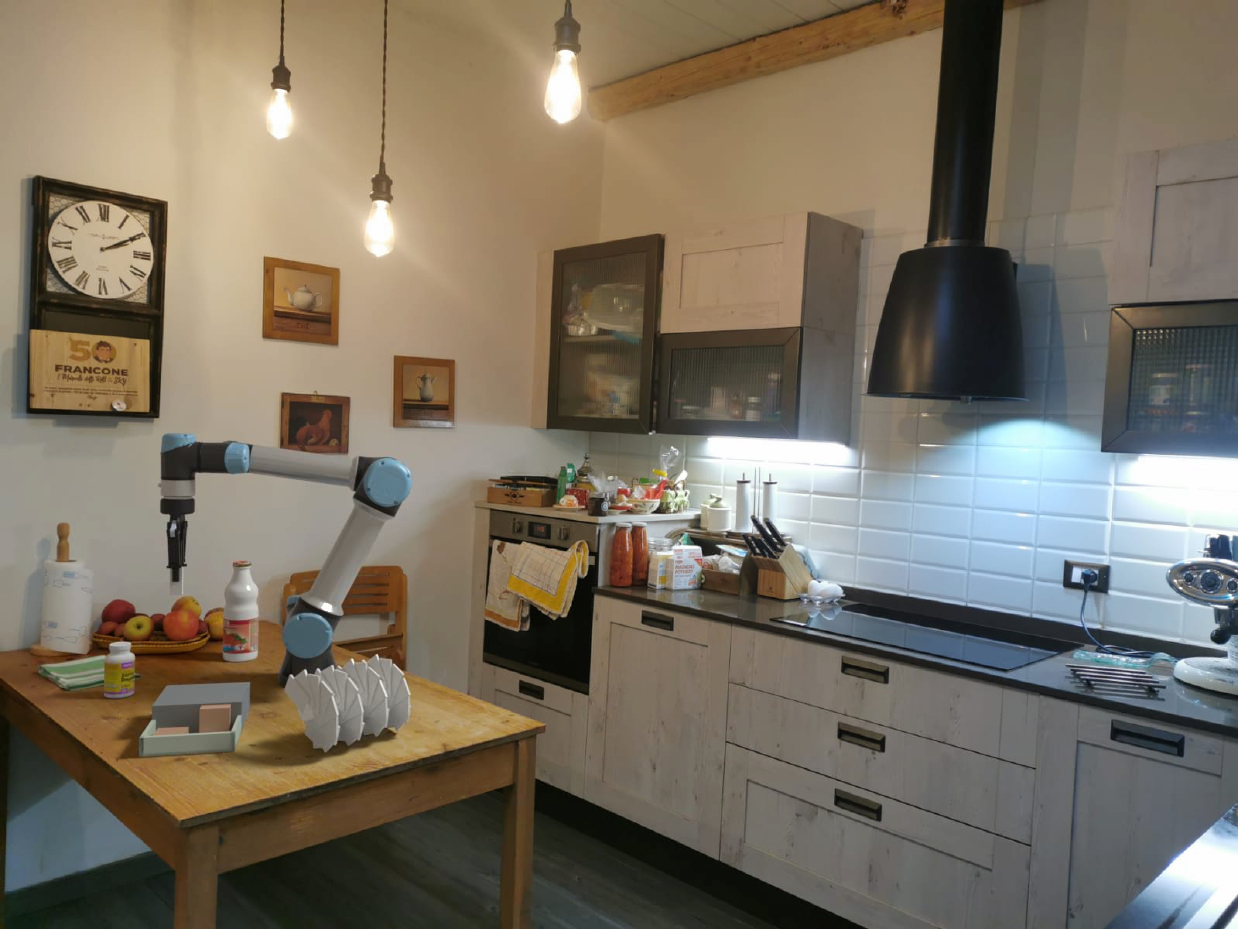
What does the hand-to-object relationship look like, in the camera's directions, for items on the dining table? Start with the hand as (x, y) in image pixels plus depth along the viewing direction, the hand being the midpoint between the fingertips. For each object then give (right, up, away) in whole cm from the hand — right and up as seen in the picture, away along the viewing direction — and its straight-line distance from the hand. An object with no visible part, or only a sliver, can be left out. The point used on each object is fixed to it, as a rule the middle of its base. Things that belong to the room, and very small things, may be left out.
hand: (176, 594), depth 219 cm
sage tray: (+16, -28, -26) cm, 42 cm away
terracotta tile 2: (+12, -25, -28) cm, 40 cm away
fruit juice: (-2, -25, +42) cm, 49 cm away
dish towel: (-33, -25, +20) cm, 46 cm away
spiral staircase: (+49, -29, -20) cm, 60 cm away
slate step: (+13, -28, -13) cm, 33 cm away
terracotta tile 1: (+18, -24, -20) cm, 37 cm away
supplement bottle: (-17, -26, +5) cm, 31 cm away
